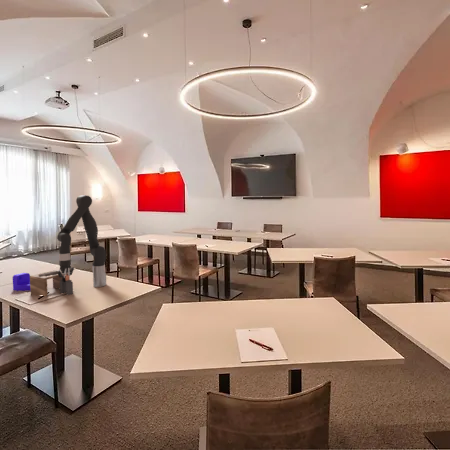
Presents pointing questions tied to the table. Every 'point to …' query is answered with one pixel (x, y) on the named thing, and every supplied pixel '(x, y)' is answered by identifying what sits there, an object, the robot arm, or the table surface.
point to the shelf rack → (43, 282)
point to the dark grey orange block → (66, 286)
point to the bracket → (21, 282)
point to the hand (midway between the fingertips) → (66, 281)
